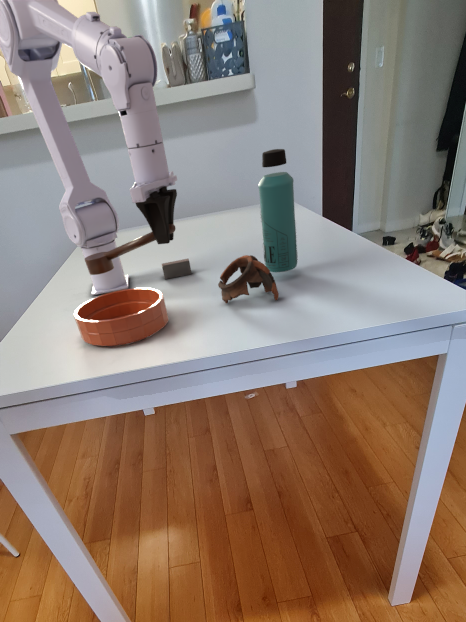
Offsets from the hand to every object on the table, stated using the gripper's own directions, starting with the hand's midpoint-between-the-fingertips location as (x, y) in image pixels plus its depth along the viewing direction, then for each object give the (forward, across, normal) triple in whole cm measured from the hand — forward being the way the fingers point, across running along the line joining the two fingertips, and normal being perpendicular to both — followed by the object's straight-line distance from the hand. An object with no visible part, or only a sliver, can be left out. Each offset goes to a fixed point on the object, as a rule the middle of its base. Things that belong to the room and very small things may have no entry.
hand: (165, 241), depth 80 cm
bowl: (+10, -13, +5) cm, 17 cm away
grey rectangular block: (+10, +16, +6) cm, 20 cm away
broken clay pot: (+10, -1, -15) cm, 18 cm away
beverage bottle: (+10, +11, -18) cm, 24 cm away
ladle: (+4, 0, +7) cm, 8 cm away
